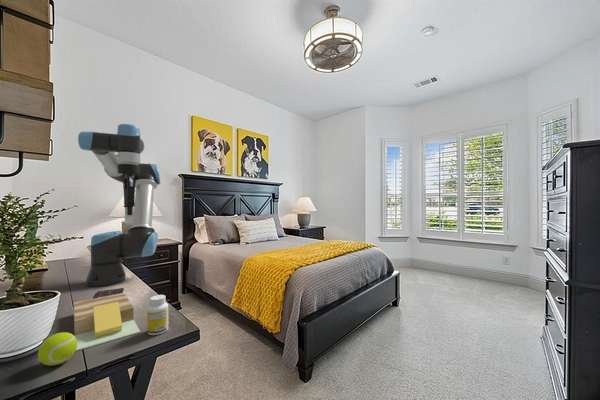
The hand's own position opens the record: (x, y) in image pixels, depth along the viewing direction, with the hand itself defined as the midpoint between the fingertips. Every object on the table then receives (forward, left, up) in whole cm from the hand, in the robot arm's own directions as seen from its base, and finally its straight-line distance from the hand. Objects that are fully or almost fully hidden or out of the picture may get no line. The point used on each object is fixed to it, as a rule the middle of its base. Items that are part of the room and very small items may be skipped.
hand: (129, 223), depth 103 cm
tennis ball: (+40, -20, -29) cm, 53 cm away
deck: (+17, -10, -29) cm, 35 cm away
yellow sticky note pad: (+29, -9, -26) cm, 40 cm away
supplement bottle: (+39, +1, -29) cm, 49 cm away
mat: (+32, -10, -29) cm, 44 cm away
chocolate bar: (-4, -6, -30) cm, 31 cm away
